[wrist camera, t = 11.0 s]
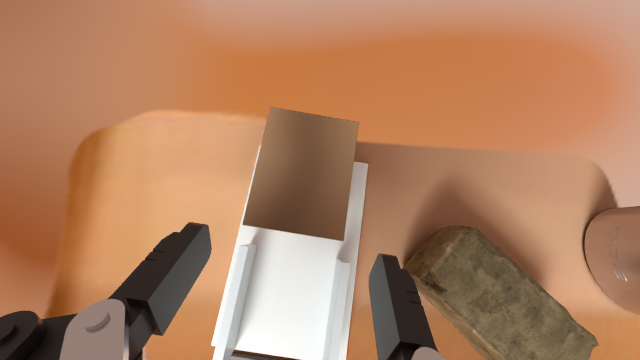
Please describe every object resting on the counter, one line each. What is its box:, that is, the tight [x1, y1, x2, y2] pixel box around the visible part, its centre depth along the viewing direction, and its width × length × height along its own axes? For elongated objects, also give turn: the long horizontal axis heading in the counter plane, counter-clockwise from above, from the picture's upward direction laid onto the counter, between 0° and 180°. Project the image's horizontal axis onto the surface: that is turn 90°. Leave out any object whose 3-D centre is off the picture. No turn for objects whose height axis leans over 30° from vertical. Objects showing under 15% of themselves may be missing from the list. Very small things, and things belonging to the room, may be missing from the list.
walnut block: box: [242, 107, 359, 241], centre depth 16 cm, size 5×6×8 cm
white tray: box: [211, 145, 368, 360], centre depth 17 cm, size 10×20×4 cm, turn 171°
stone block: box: [403, 226, 598, 360], centre depth 17 cm, size 6×12×5 cm, turn 46°
